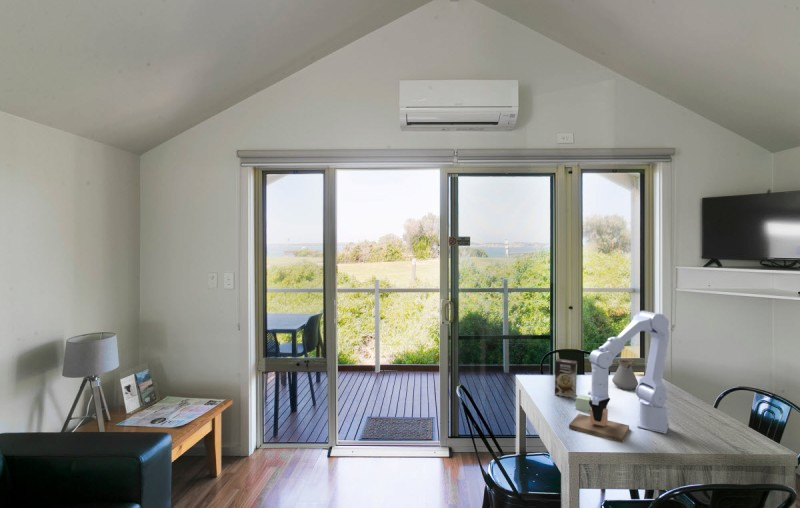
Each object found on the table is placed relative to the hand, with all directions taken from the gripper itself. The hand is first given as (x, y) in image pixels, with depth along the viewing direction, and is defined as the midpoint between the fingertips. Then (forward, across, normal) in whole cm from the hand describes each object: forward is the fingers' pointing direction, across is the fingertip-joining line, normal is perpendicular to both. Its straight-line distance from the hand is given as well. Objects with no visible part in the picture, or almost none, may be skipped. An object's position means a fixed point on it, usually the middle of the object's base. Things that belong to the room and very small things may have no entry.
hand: (599, 418), depth 156 cm
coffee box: (+4, -31, -21) cm, 38 cm away
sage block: (+4, -18, -10) cm, 21 cm away
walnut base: (+4, 0, 0) cm, 4 cm away
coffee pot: (+4, -58, 0) cm, 58 cm away
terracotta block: (+2, 0, 0) cm, 2 cm away
